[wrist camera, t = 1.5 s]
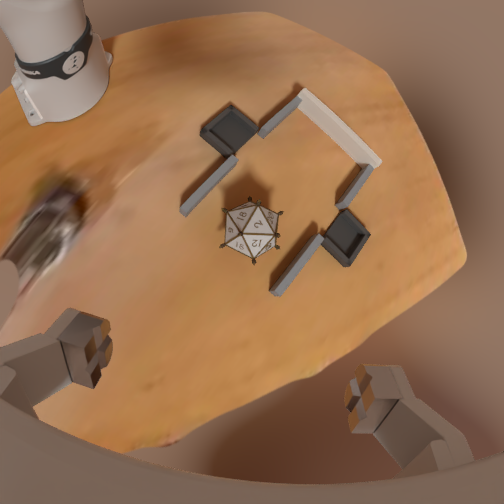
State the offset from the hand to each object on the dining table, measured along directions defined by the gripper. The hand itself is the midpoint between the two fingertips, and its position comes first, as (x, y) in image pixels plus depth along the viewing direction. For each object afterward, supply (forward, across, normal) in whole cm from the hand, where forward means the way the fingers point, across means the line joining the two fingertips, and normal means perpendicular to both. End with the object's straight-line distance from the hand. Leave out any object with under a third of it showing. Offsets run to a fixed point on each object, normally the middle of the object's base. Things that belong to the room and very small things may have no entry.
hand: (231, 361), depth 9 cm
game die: (+35, +1, +9) cm, 37 cm away
